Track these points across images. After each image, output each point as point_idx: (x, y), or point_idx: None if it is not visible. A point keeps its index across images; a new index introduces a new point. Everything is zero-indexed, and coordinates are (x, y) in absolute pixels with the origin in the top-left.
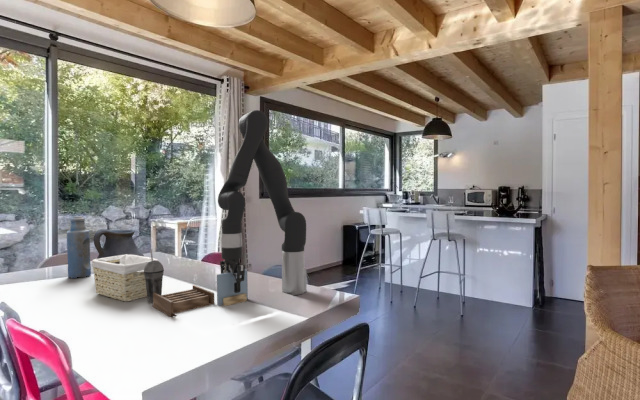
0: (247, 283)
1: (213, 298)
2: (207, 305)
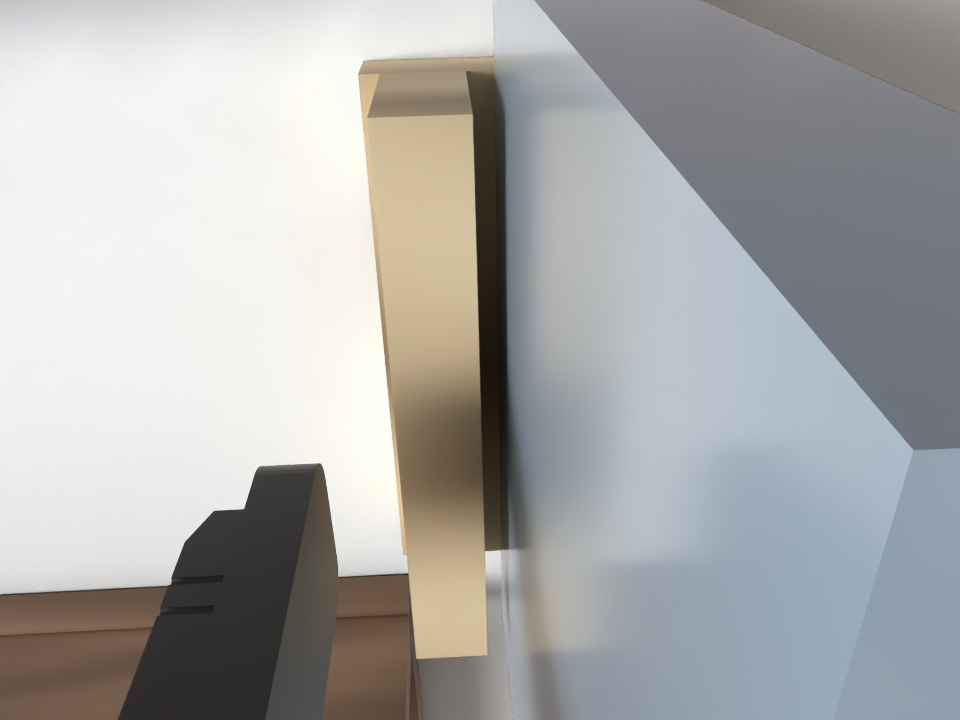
0: (707, 3)
1: (404, 709)
2: (415, 700)
